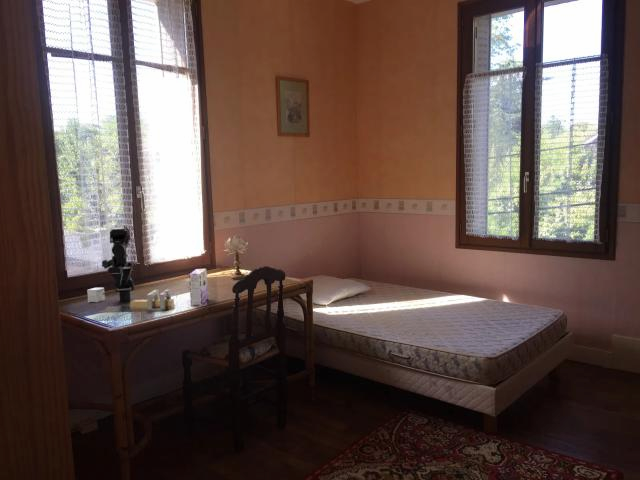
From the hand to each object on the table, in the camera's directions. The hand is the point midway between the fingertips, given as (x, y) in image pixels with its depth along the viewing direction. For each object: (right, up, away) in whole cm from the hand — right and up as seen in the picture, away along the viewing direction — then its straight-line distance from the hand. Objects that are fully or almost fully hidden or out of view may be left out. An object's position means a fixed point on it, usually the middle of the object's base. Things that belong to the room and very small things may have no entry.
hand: (122, 284), depth 266 cm
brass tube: (+17, -11, -5) cm, 21 cm away
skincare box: (-19, -11, +16) cm, 27 cm away
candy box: (+37, -10, +8) cm, 39 cm away
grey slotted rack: (+9, -12, -5) cm, 16 cm away
